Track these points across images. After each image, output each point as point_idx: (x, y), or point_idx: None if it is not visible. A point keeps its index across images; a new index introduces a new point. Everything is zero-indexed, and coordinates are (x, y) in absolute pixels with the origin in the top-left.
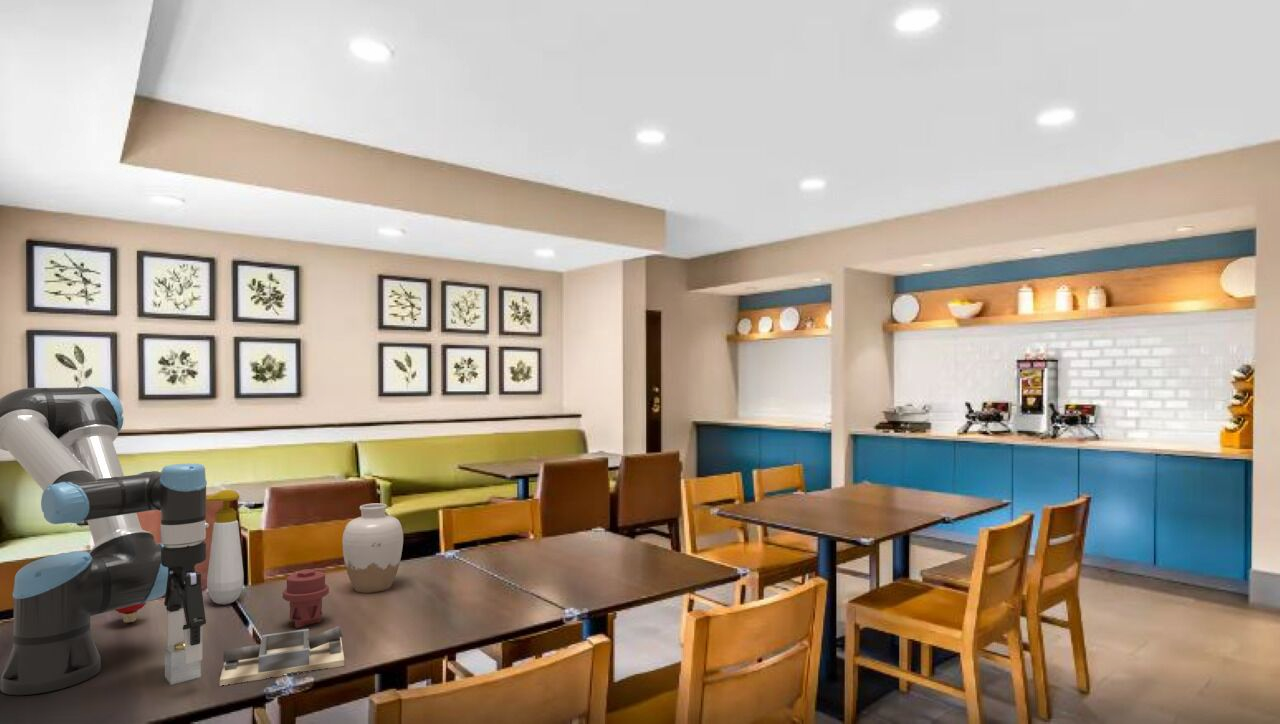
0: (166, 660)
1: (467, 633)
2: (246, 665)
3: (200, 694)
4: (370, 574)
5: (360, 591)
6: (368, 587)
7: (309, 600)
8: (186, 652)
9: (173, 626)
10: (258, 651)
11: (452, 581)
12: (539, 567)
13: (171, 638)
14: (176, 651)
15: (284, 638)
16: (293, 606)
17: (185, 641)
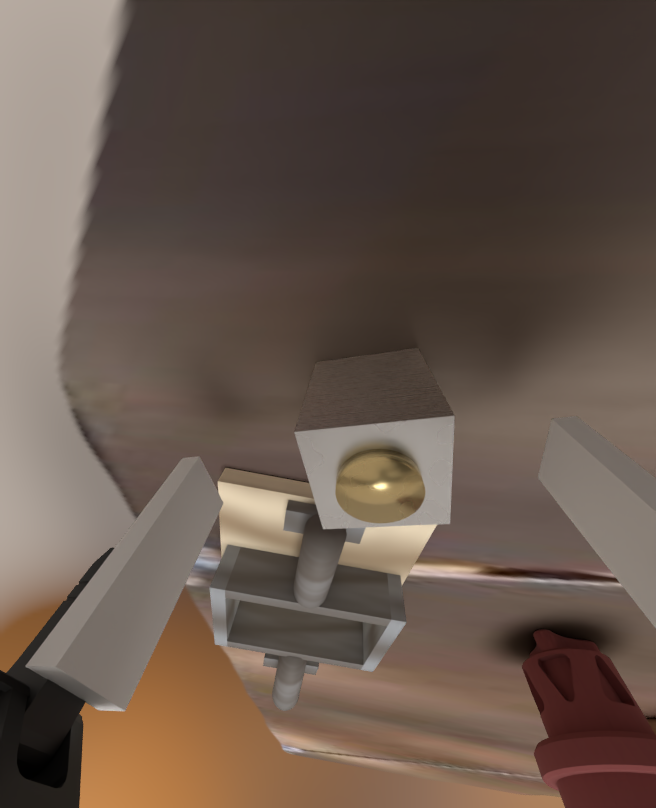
0: (403, 384)
1: None
2: (296, 537)
3: (185, 425)
4: None
5: (651, 722)
6: None
7: (540, 743)
8: (153, 499)
9: (636, 531)
10: (293, 588)
11: None
12: (484, 787)
13: (574, 457)
14: (316, 453)
15: (374, 629)
16: (585, 705)
17: (119, 553)
